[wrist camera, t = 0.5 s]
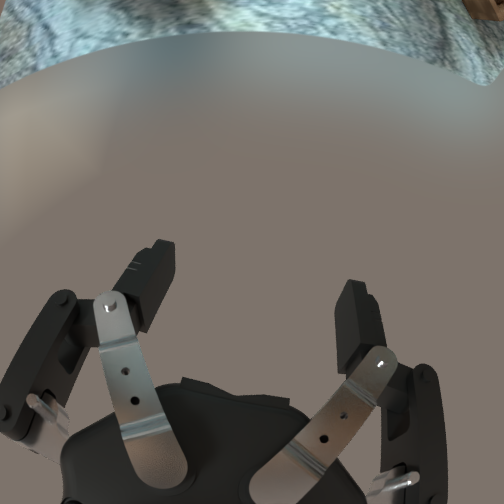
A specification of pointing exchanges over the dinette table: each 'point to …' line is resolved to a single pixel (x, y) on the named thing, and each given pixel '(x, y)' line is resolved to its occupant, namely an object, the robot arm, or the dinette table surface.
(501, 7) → the walnut box
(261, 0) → the dinette table surface
